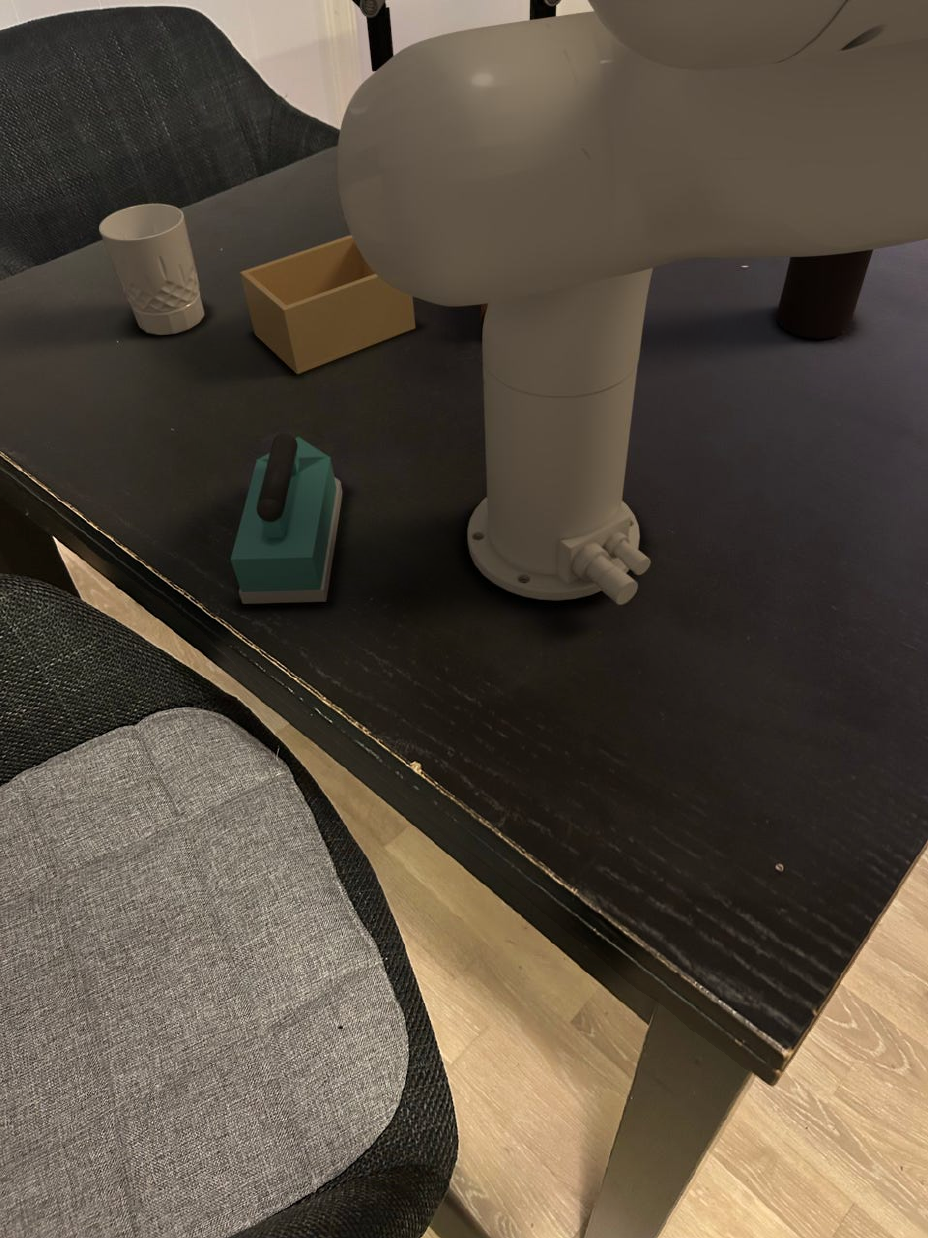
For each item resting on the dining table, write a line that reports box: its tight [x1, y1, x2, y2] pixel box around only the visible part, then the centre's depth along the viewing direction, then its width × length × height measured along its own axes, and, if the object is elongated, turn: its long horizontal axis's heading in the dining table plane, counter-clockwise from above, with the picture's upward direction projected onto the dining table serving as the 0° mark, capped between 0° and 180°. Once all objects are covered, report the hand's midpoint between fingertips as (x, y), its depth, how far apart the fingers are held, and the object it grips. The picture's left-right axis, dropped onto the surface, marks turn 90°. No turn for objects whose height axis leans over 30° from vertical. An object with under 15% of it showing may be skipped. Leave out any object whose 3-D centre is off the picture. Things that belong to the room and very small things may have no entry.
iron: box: [230, 432, 343, 605], centre depth 64 cm, size 15×6×8 cm, turn 0°
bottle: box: [776, 249, 874, 340], centre depth 77 cm, size 7×7×20 cm
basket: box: [239, 234, 416, 375], centre depth 85 cm, size 9×13×6 cm
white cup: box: [98, 203, 205, 336], centre depth 86 cm, size 8×8×10 cm
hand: (463, 77), depth 57 cm, fingers open, 9 cm apart
